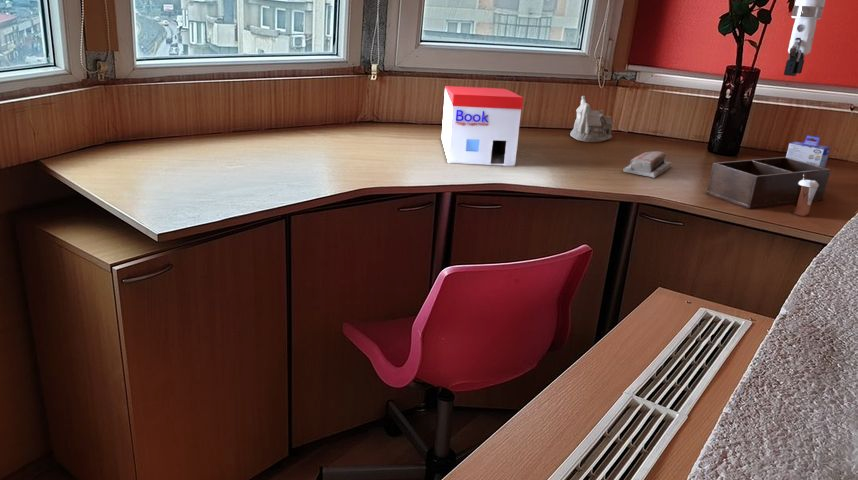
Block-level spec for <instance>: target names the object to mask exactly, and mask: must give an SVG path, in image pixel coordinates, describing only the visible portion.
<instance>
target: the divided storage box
mask: <svg viewBox="0 0 858 480" xmlns="http://www.w3.org/2000/svg"><path fill="white" fill-rule="evenodd" d="M711 165H712V166H711V170H710V174H709V179H708V184H707V189H706V194H707V195H709V196H712V197H715V198H718V199H720V200H723V201H726V202H728V203H731V204H734V205H737V206H740V207H742V208H746V209H748V210H751V209H760V208H769V207H778V206H784V205H793V204H794V205H795V201H796V195H797V189H798V183H799V181H801V180H803V174H805V180H812V181H813V180H815V181H816V182H817V183H818V185H819V186H818V188H817V191H816V193H815V196H814V198H813V201H812V202H818V201H823V199H824V196H825V192H826V188H827V184H828V181H829V178H830V174H831V171H832V169H831V168H828V167H825V168H824V167H820V166H816V165H813V164H809V163H805V162H802V161H798V160H794V159H791V158H787V157H786V156H780V157H779V156H777V157H768V158H756V159H755V158H754V159H742V160H733V161H731V160H730V161H721V162H719V161H717V162H712V164H711Z"/></svg>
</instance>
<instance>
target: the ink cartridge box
mask: <svg viewBox="0 0 858 480" xmlns="http://www.w3.org/2000/svg"><path fill="white" fill-rule="evenodd" d="M810 139H813V140H810ZM814 140H815V141H814ZM820 140H821V137H818V136H814V135H806V138H804V141H803V142H800V141H792V142H789V143H788V148H787V151H786V155H785V157H787V158H791V159H794V160H798V161H802V162H805V163H809V164H813V165H816V166H820V167H824V168H826V164H827V162H828V157H829V154H830V151H831V146H827V145H826V146H825V145H821V144H820V145H819V143H820Z"/></svg>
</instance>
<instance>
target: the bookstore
mask: <svg viewBox="0 0 858 480" xmlns="http://www.w3.org/2000/svg"><path fill="white" fill-rule="evenodd" d="M523 100H524V97H523V96H521V95H519V94H517V93H516V92H513V91H512V90H509V89H507V88H501V87H500V88H499V87H478V86H458V85H457V86H456V85H455V86H452V85H445V86H444V99H443V114H442V126H441V127H442V128H441V141H442V145H443V149H444V152H445V156H446V159H447V163H448V164H466V165H485V166H486V165H487V166H505V167H507V166H509V167H515V166H516V160H517V151H518V142H519V134H520V125H521V124H520V123H521V115H522V110H523V103H524V101H523Z"/></svg>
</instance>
